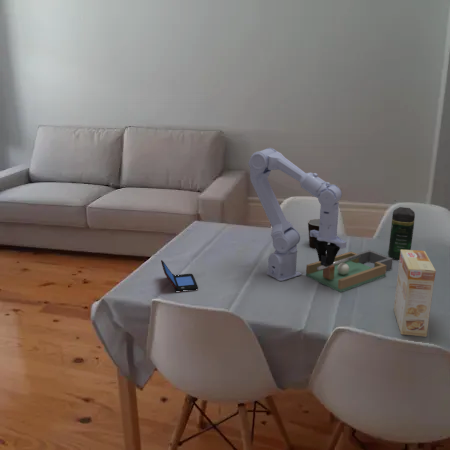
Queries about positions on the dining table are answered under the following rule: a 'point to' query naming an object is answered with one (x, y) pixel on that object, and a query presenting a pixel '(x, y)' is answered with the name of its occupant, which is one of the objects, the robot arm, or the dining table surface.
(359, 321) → the dining table surface
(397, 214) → the coffee jar
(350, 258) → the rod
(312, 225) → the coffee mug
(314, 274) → the pitch
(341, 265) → the ball
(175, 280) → the handheld game console
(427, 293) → the coffeecake box
